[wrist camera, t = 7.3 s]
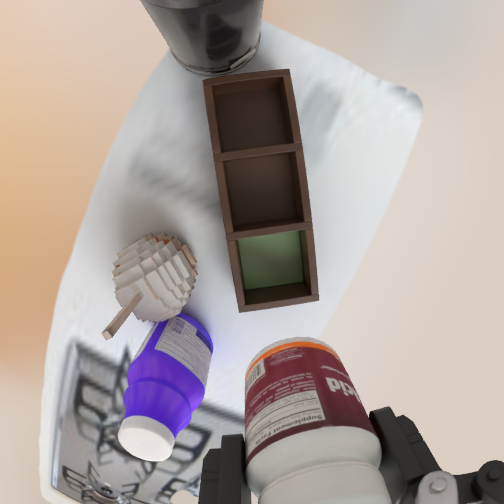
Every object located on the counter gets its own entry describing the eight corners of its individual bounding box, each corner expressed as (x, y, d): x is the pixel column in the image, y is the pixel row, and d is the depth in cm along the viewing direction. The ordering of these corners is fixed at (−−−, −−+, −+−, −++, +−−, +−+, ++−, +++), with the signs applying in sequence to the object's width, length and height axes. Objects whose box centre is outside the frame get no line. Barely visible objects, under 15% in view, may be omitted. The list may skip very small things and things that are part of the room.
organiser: (208, 93, 28) (202, 79, 23) (283, 83, 28) (289, 68, 23) (240, 294, 33) (239, 313, 29) (309, 283, 33) (319, 300, 28)
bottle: (146, 328, 34) (87, 431, 17) (175, 297, 33) (122, 401, 16) (191, 366, 35) (163, 480, 19) (223, 339, 35) (209, 458, 18)
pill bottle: (353, 381, 14) (414, 512, 6) (273, 420, 15) (289, 556, 7) (317, 314, 13) (388, 467, 5) (225, 362, 14) (213, 524, 6)
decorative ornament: (117, 252, 32) (40, 306, 17) (174, 218, 31) (118, 256, 16) (152, 311, 34) (102, 393, 19) (210, 282, 33) (186, 362, 18)
